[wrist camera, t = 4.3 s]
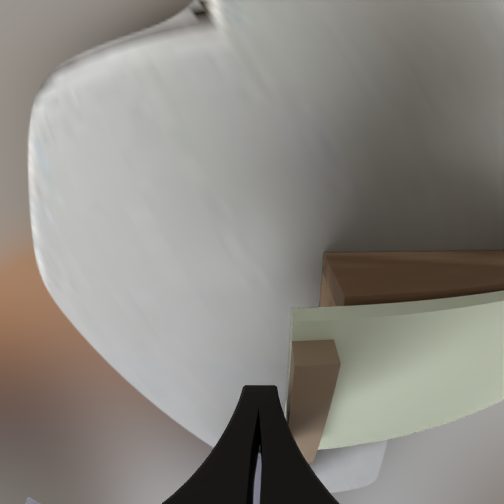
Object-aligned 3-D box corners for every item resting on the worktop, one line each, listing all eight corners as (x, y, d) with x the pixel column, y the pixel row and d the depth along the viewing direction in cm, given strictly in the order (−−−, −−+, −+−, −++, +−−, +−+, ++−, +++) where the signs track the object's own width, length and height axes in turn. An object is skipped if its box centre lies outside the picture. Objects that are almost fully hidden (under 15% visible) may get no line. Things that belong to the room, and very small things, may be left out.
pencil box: (497, 349, 16) (527, 388, 11) (309, 383, 17) (318, 451, 12) (532, 249, 12) (578, 280, 8) (323, 252, 13) (353, 313, 8)
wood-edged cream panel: (499, 392, 12) (511, 410, 10) (282, 439, 12) (282, 470, 11) (551, 281, 8) (572, 297, 7) (291, 307, 9) (296, 346, 8)
